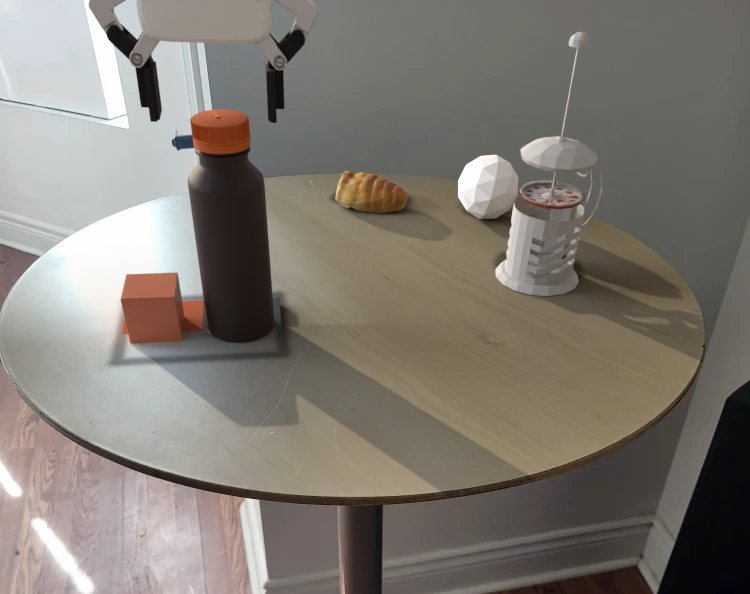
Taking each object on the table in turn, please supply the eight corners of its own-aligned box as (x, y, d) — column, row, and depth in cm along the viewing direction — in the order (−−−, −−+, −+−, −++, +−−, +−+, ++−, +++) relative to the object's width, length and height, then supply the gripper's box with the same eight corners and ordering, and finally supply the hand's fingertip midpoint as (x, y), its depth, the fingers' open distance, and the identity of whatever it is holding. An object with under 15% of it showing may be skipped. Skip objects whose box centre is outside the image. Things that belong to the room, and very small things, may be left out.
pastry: (412, 200, 106) (414, 172, 104) (399, 220, 102) (400, 191, 99) (347, 191, 108) (347, 162, 106) (331, 209, 103) (331, 181, 101)
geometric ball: (468, 231, 106) (453, 171, 105) (526, 213, 104) (512, 152, 103) (462, 224, 99) (447, 160, 98) (525, 204, 97) (509, 138, 95)
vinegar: (193, 331, 78) (161, 120, 65) (237, 304, 83) (216, 100, 69) (245, 352, 76) (222, 136, 62) (288, 323, 80) (276, 115, 66)
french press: (478, 267, 92) (508, 25, 75) (554, 248, 97) (599, 15, 80) (529, 303, 86) (574, 49, 69) (608, 281, 90) (669, 37, 73)
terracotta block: (130, 345, 76) (120, 298, 73) (135, 319, 80) (125, 274, 76) (182, 342, 77) (174, 296, 73) (184, 317, 80) (177, 272, 77)
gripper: (313, -143, 58) (314, 105, 69) (71, -156, 56) (114, 102, 67) (320, -135, 52) (320, 133, 64) (53, -149, 50) (103, 131, 62)
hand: (214, 117), depth 66 cm, fingers open, 9 cm apart
